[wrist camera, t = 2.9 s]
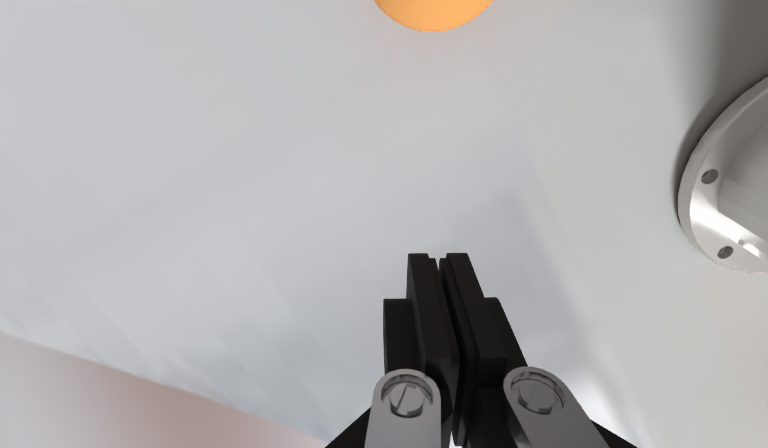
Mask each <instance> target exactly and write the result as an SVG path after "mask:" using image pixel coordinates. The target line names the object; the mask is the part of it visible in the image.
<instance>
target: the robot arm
mask: <svg viewBox="0 0 768 448" xmlns="http://www.w3.org/2000/svg"><path fill="white" fill-rule="evenodd" d="M678 215H679V219H680V223H681V227H682V229H683V231H684V233H685V235H686V236H687V238H688V240H689V241H690V243H692V244H693V245H694V246H695V247H696V248H697V249H698V250H699V251H700V252H701V253H702V254H704V255H705V256H706V257H708V258H709V259H710V260H712V261H713V262H715V263H716V264H719V265H721V266H724V267H726V268H729V269H731V270H737V271H743V272H748V273H768V76H767V77H766V78H764V79H763V80H761V81H760V82H759V83H757V84H756V85H754V86H753V87H751V88H750V89H749V90H747V91H746V92H744V93H743V94H742V95H741V96H740V97H739V98H738V99H736V100H735V101H734V102H733V103H732V104H731V105H730V106H729V107H728V108H727V109H725V110H724V111H723V112H722V113H721V114H720V116H719V117H718V118H717V119H716V120H715V122H714V123H713V124H712V125H711V126H710V128H709V129H708V130H707V131H706V132H705V133H704V135H703V137H702V138H701V140H700V141H699V143H698V145H697V146H696V148H695V149H694V151H693V153H692V154H691V156H690V159H689V161H688V163H687V166H686V168H685V170H684V173H683V175H682V179H681V184H680V188H679V193H678ZM383 340H384V367H385V375H384V376H383V377H382V378H381V379H380V380H379V381H378V383H377V384H376V387H375V390H374V393H373V399H372V405H371V407H370V408H369V409H368V410H367V411H366V412H364V413H363V414H362V415H361V416H360V417H359V418H358V419H357V420H355V421H354V422H353V423H352V424H351V425H350V426H349V427H348V428H346V429H345V430H344V431H343V432H342V433H341V434H340V435H339V436H337V437H336V438H335V439H334V440H333V441H332V442H331V443H330V444H328V445H327V446H326V447H325V448H449V444H450V437H451V431H452V436H453V441H454V444H455V446H462V448H637V447H636V446H634V445H632V444H631V443H629V442H627V441H626V440H624V439H622V438H621V437H619V436H617V435H616V434H614V433H612V432H611V431H609V430H607V429H606V428H604V427H602V426H600V425H599V424H597V423H595V422H594V421H592V420H590V419H589V417H588V416H587V414H586V413H585V412H584V410H583V409H582V407H581V406H580V404H579V403H578V402H577V400H576V399H575V397H574V396H573V394H572V393H571V391H570V390H569V389H568V387H567V386H566V385H565V384H564V383H563V382H562V381H561V380H560V379H559V378H558V377H556V376H555V375H553V374H552V373H550V372H548V371H545V370H543V369H540V368H536V367H528V365H527V363H526V361H525V358H524V356H523V354H522V351H521V349H520V347H519V345H518V342H517V340H516V338H515V335H514V333H513V331H512V329H511V326H510V324H509V322H508V319H507V317H506V315H505V312H504V310H503V308H502V306H501V303H500V301H499V300H498V298H496V297H488V298H484V295H483V292H482V290H481V287H480V285H479V282H478V280H477V277H476V275H475V272H474V269H473V267H472V264H471V262H470V259H469V257H468V254H467V253H447V255H446V258H440V261H439V271H438V267H437V263H436V260H435V258H429V256H428V254H427V253H414V254H408V268H407V292H406V299H384V302H383Z"/></svg>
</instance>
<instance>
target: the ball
mask: <svg viewBox="0 0 768 448" xmlns="http://www.w3.org/2000/svg"><path fill="white" fill-rule="evenodd" d="M374 1H375V3H376V4H377V5H378V7H379V8H380V9H381V10H382V11H383V12H384V13H385V14H386V15H388V16H389V17H390V18H392V19H393V20H394V21H396V22H398V23H400V24H401V25H403V26H406V27H408V28H411V29H415V30H419V31H427V32H436V31H445V30H449V29H453V28H456V27H459V26H461V25H463V24H465V23H467V22H469V21H471V20H472V19H474V18H475V17H477V16H478V15H479V14H480V13H482V12H483V11H484V10H485V9H486V8H487V7H488V6H489V5H490V4H491V3H492V2H493V0H374Z"/></svg>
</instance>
